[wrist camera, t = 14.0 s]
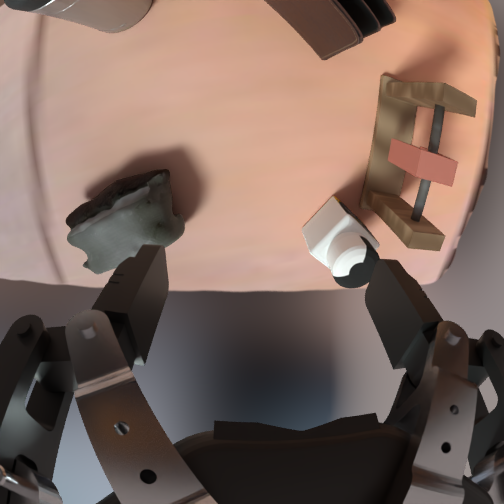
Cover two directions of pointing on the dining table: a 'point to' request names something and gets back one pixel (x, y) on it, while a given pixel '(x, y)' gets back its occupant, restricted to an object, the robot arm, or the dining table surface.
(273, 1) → the letter holder
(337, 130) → the dining table surface
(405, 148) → the pink u-shaped bracket
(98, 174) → the dining table surface
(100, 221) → the rock
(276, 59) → the dining table surface
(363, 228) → the medicine bottle
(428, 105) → the rail stand
